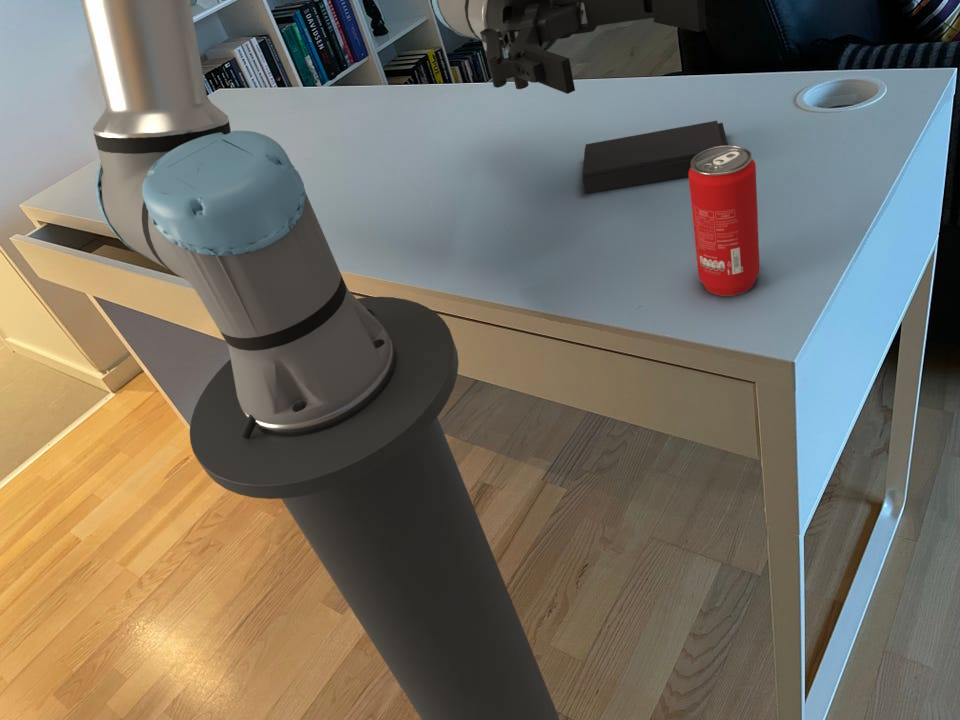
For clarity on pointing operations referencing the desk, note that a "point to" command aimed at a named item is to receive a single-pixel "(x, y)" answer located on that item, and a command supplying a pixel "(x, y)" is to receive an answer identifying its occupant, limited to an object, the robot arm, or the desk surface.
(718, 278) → the beverage can
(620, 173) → the black flat box
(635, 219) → the desk surface
